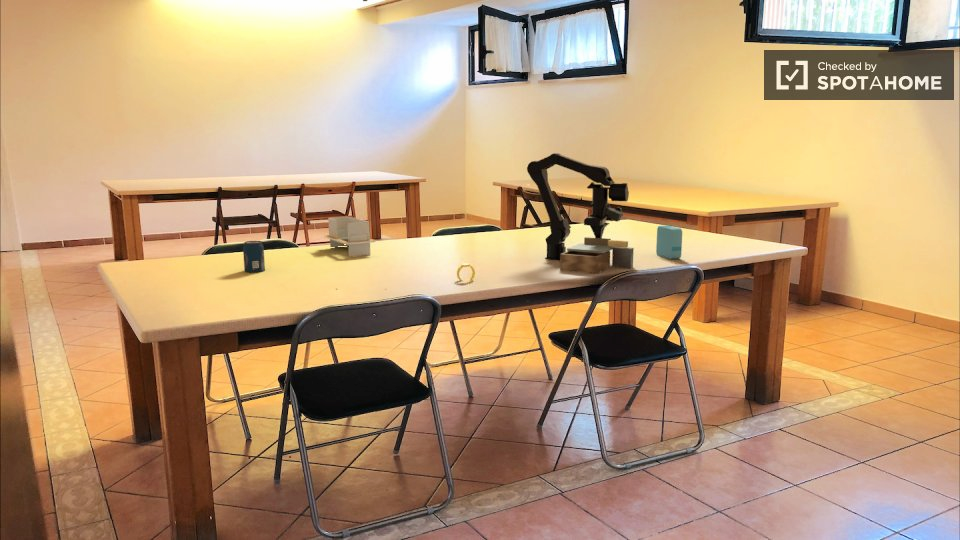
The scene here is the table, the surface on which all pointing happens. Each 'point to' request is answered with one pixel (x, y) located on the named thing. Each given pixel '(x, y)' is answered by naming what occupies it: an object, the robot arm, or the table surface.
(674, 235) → the data package
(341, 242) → the architectural model
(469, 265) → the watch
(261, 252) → the soda can
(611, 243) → the bolt
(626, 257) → the block
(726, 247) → the table surface
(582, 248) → the box lid
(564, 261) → the storage box
